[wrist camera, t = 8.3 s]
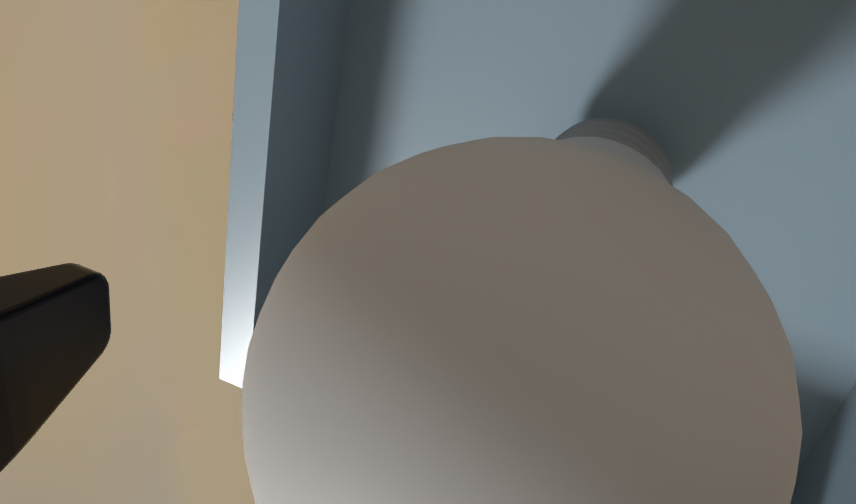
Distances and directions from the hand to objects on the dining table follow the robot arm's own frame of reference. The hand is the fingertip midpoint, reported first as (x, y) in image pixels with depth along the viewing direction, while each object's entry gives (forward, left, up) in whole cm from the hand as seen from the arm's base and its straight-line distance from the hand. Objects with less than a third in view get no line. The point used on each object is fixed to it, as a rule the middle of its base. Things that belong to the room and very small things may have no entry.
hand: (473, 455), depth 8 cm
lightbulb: (0, 0, -9) cm, 9 cm away
